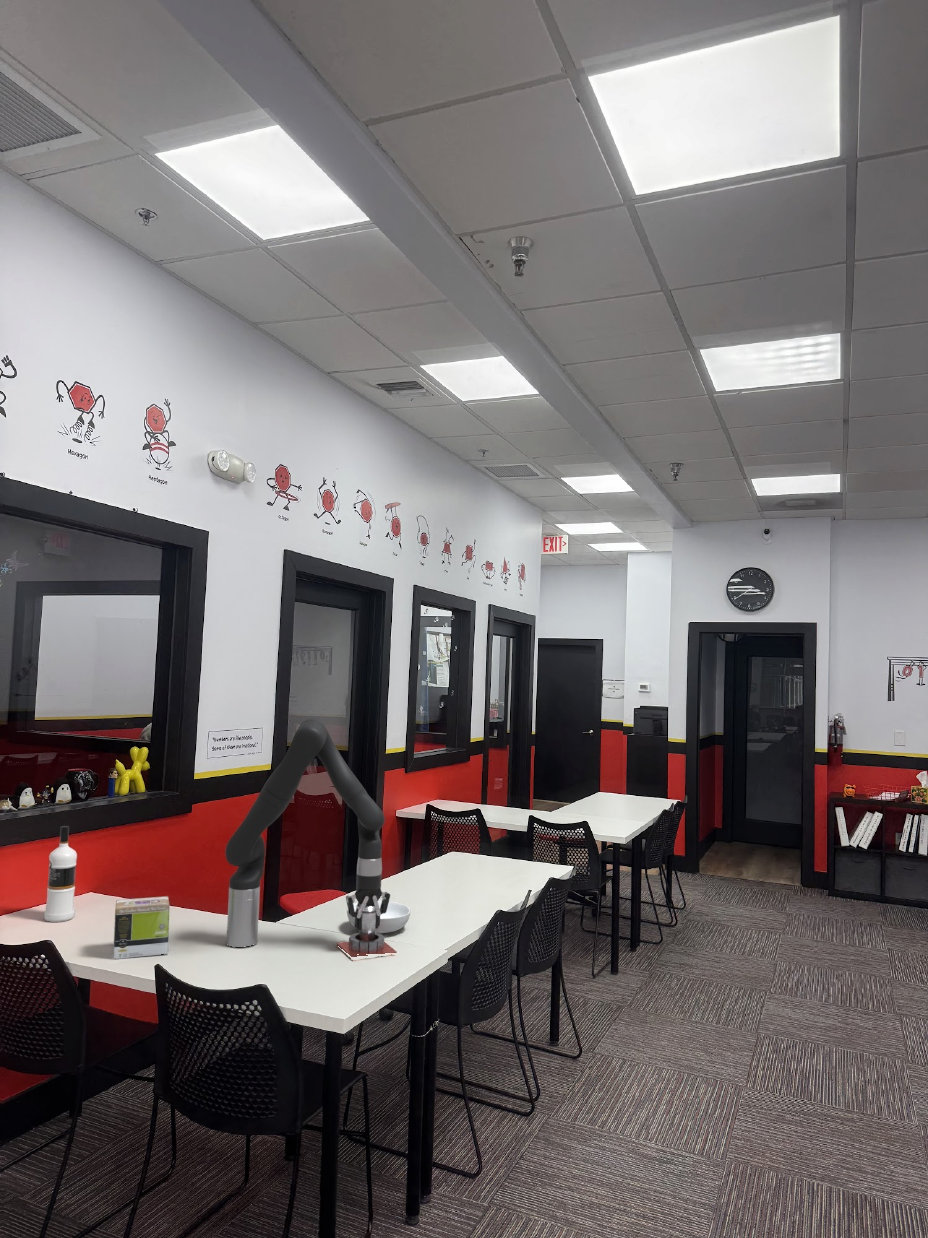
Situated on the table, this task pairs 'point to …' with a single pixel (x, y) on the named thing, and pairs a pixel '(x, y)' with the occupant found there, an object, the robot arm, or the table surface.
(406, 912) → the serving bowl
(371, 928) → the cylinder
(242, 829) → the robot arm
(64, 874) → the vodka
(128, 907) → the tea box
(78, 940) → the table surface
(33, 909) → the table surface
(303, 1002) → the table surface
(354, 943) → the collar
